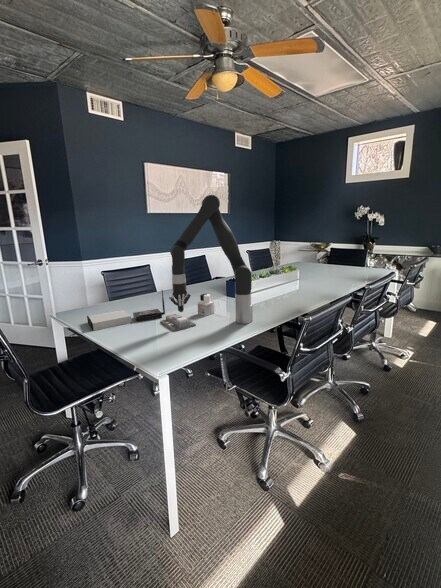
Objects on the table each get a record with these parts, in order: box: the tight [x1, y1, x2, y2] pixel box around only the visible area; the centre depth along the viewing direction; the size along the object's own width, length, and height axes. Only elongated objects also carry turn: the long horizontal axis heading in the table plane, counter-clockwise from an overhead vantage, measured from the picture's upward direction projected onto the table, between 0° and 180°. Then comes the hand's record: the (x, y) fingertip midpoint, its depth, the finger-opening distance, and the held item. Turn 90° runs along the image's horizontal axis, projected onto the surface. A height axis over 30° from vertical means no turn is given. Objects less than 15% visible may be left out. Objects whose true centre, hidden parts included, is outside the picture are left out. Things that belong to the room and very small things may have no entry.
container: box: [197, 293, 215, 317], centre depth 192 cm, size 8×8×13 cm
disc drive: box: [86, 309, 132, 331], centre depth 182 cm, size 18×22×5 cm
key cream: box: [177, 316, 188, 323], centre depth 169 cm, size 4×4×2 cm
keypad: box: [159, 313, 197, 332], centre depth 174 cm, size 14×19×4 cm
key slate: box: [172, 314, 183, 321], centre depth 174 cm, size 4×4×2 cm
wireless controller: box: [132, 289, 166, 323], centre depth 187 cm, size 20×14×17 cm
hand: (180, 311), depth 168 cm, fingers closed
